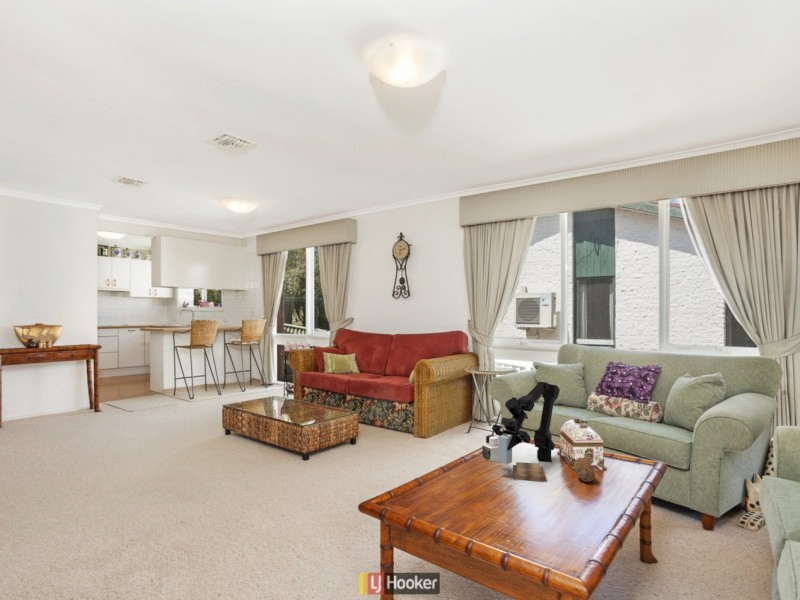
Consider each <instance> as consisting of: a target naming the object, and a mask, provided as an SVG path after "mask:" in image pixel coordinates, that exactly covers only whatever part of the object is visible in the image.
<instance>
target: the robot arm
mask: <svg viewBox="0 0 800 600" xmlns="http://www.w3.org/2000/svg"><path fill="white" fill-rule="evenodd" d="M560 390H561V389H560V387H559V386H558V385H556V384H551V383H549V382H546V381H538V382H537V383H536V385H535V386H534V387H533V388H532V389H531V390H530V391H529V392H528V393H527V394H526V395H523V396H522V395H521V396H520V397H518V398H517V397H512V398H509V399H508V400H507V401H506V402H505V403H504V406H505V407H506V409H507V411H508V412H509V413H510V415H512V417H511V418H507V417H502V418H501V421H500V424H493V425H492V427H491V430H492V431H493V432H494V434H495V436H497V437H498V436H501V435H508V436H512V439H511V441H510V443H509V445H508V448H507V450H510V449H511V448H512V449H513V448H514V447H516V446H517V445H519V444H522V443H527V444H530V442H531V439H532V438H531V435H530V434H529V433H528V432H527V431H526V430H521V429H523V425H524V424H523V423H524V421H525V420H528V419H529V418H528V413H527V412H529V413H530V412H531V411H533V409H534V408H535V403H536V401H537V400H538V399H539V398H540V397H541V396H542V398H543V405H542V411H541V418H540V424H539V428H538V429H535V430H534V436H533V443H534V448H537V450H536V458H537V460H538V462H546V463H552V451H554V449H555V446H556V444H555V442H554V441H553V439H552V438H553V435H552V432H551V430H550V427H551V423H552V422H551V421H552V415H553V409H554V404H555V402H556V400H557V399H558V398H559V395H560ZM502 425H503V427H504V428H503V427H502Z"/></svg>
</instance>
